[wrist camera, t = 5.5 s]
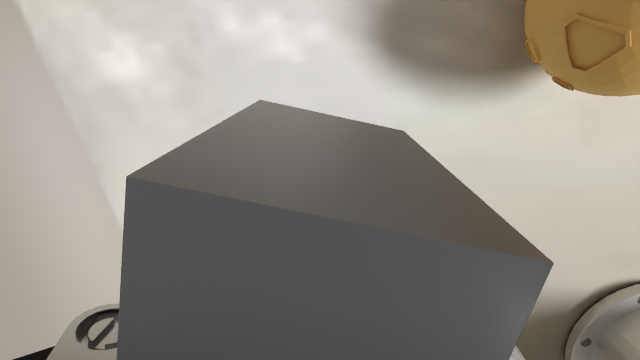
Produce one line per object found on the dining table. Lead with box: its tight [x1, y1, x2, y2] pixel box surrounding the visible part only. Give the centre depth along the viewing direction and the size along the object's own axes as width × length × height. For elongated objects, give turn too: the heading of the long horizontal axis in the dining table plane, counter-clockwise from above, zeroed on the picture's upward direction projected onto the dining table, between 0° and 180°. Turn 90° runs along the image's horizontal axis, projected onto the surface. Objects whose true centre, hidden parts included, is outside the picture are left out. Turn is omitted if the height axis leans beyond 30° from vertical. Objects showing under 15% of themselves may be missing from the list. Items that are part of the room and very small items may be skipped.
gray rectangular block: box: [117, 100, 554, 360], centre depth 8 cm, size 4×9×7 cm, turn 168°
